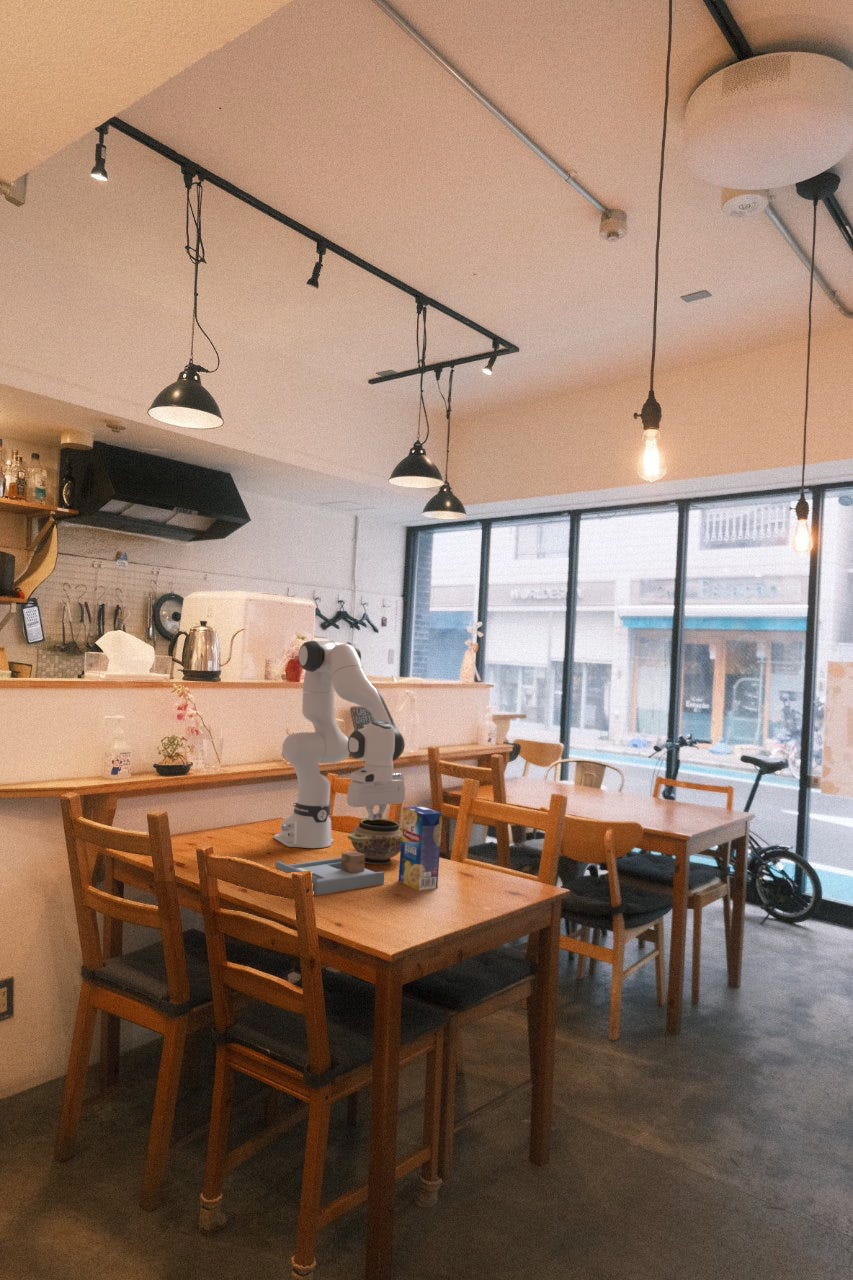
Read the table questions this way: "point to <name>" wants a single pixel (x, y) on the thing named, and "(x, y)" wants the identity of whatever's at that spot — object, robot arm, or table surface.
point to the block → (353, 862)
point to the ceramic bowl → (377, 840)
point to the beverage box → (420, 847)
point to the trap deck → (333, 876)
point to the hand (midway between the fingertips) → (375, 819)
